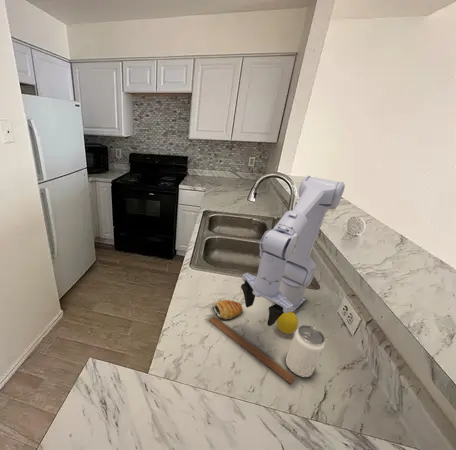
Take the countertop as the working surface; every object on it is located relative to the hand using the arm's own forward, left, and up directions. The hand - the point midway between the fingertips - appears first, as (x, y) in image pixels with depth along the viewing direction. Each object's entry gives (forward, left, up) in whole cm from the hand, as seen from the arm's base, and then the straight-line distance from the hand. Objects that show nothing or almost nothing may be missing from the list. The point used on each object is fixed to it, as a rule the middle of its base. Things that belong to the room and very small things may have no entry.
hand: (259, 314), depth 70 cm
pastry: (-3, -12, -10) cm, 16 cm away
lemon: (-10, +4, -10) cm, 15 cm away
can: (-2, +12, -10) cm, 16 cm away
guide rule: (+4, 0, -10) cm, 11 cm away
